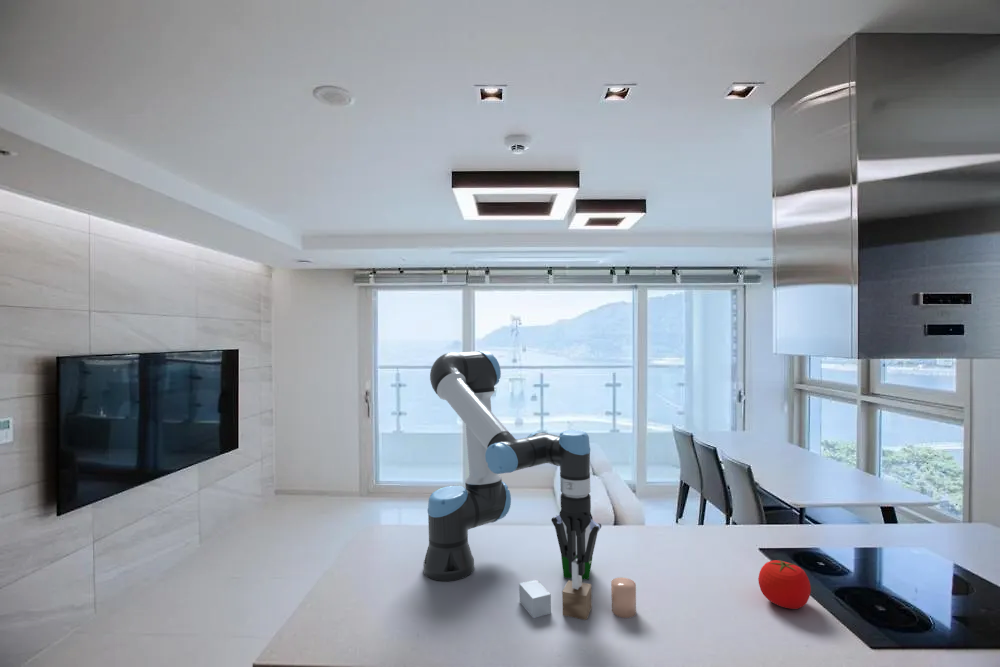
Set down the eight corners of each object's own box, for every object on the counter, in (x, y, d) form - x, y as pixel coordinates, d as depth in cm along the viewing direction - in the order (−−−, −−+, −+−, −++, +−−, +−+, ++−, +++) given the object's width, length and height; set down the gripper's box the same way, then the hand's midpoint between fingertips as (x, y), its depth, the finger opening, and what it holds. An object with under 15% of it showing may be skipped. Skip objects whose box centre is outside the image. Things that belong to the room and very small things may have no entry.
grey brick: (519, 602, 131) (519, 583, 131) (536, 598, 133) (536, 579, 133) (533, 618, 123) (532, 598, 123) (551, 613, 125) (550, 594, 125)
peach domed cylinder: (608, 613, 125) (607, 585, 125) (616, 602, 130) (616, 575, 130) (631, 620, 122) (631, 592, 121) (639, 608, 127) (638, 581, 126)
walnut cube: (562, 615, 124) (562, 591, 124) (568, 603, 130) (568, 580, 130) (586, 620, 122) (586, 596, 122) (591, 607, 128) (591, 584, 128)
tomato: (815, 602, 128) (815, 561, 128) (802, 622, 119) (802, 579, 119) (768, 586, 136) (767, 548, 136) (752, 605, 127) (752, 564, 127)
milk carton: (562, 564, 151) (561, 498, 150) (593, 567, 149) (592, 500, 149) (560, 579, 142) (559, 509, 142) (592, 581, 140) (591, 511, 140)
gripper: (545, 493, 126) (547, 586, 126) (594, 502, 119) (595, 600, 119) (558, 485, 132) (560, 573, 133) (605, 493, 125) (607, 586, 126)
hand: (577, 586), depth 126 cm, fingers closed
